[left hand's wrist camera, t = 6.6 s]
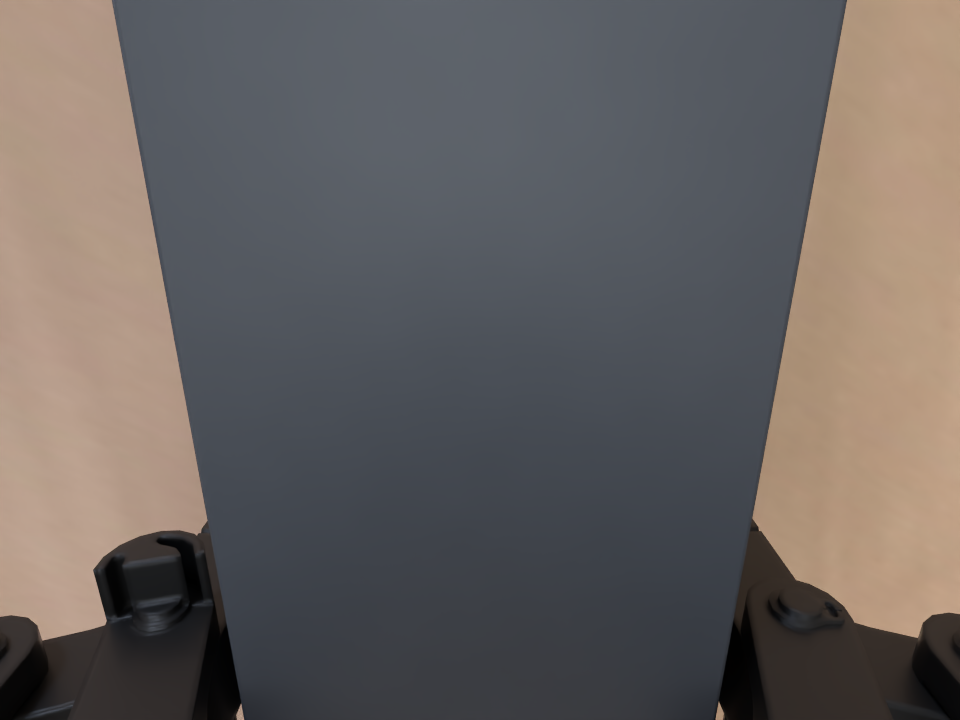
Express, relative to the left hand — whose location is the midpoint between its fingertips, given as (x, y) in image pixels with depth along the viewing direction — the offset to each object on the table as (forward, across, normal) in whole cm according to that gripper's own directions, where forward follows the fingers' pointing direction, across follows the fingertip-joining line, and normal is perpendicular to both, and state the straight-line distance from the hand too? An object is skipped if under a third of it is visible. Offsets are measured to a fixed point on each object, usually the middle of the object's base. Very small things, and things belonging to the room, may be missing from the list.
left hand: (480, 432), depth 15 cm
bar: (0, 0, -9) cm, 9 cm away
